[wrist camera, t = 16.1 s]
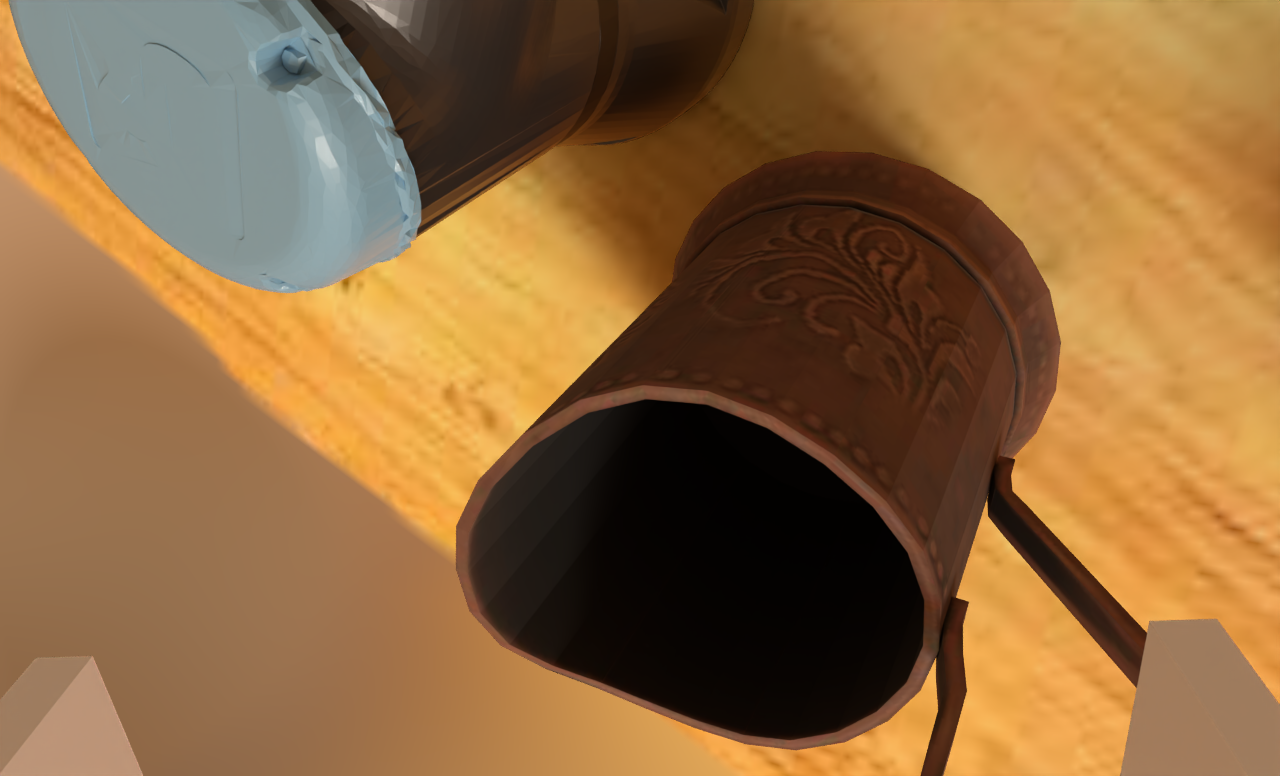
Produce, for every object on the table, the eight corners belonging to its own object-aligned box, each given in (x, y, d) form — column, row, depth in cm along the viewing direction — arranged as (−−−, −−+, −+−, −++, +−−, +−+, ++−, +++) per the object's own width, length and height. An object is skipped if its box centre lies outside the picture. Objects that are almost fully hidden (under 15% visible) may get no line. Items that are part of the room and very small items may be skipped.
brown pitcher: (670, 120, 44) (268, 413, 26) (1277, 215, 35) (1323, 769, 17) (668, 445, 55) (380, 818, 36) (1135, 583, 46) (1068, 1172, 27)
